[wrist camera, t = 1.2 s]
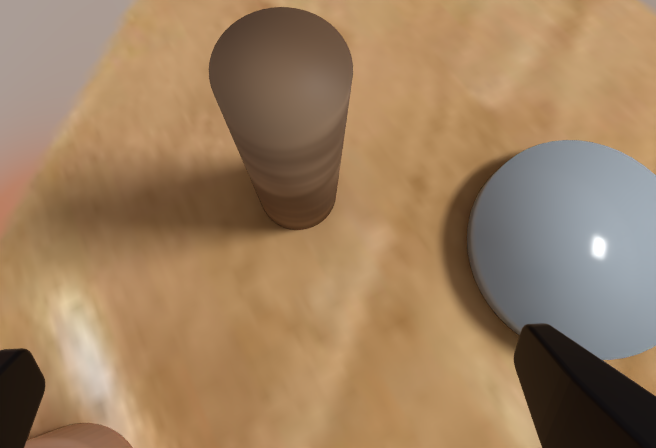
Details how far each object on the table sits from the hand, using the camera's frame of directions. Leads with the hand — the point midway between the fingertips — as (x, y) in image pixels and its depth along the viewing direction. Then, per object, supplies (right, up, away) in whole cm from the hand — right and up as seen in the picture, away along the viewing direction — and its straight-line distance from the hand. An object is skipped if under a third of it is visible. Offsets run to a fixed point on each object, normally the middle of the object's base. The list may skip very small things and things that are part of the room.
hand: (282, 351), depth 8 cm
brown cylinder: (-1, +4, +15) cm, 15 cm away
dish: (+14, +1, +14) cm, 20 cm away
